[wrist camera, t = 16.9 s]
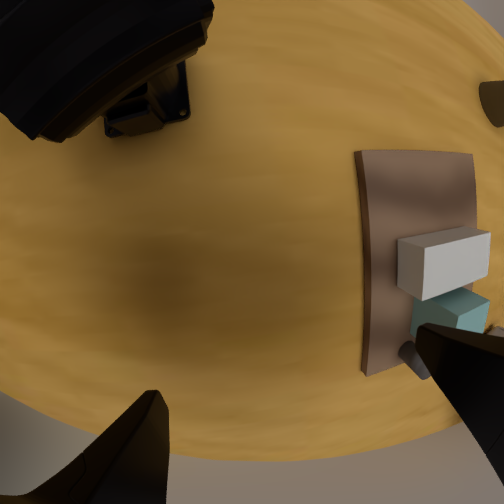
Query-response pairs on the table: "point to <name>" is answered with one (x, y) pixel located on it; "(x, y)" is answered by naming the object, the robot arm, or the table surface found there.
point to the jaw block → (452, 311)
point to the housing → (442, 261)
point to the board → (401, 226)
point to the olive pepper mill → (493, 101)
